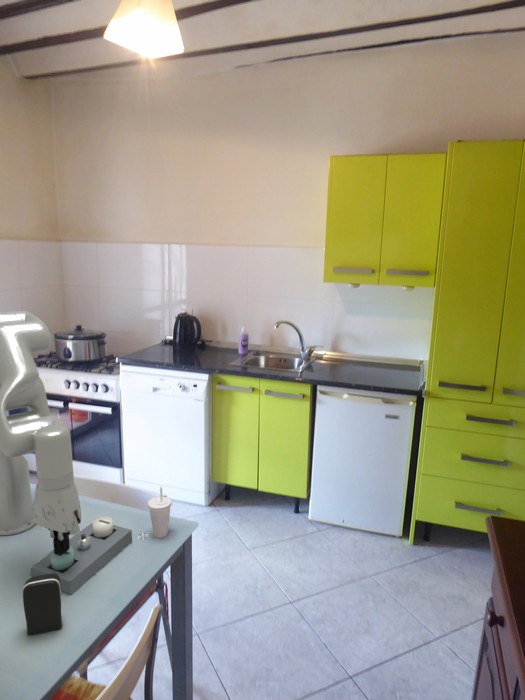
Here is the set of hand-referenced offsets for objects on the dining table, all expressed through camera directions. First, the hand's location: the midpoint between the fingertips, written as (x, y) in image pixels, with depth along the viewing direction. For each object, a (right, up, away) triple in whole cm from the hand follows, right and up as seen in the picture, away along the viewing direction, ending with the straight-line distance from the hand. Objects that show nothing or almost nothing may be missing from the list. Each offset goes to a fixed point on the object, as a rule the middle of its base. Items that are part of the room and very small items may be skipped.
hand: (62, 551), depth 112 cm
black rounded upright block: (+2, -10, -13) cm, 17 cm away
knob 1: (0, -5, +1) cm, 6 cm away
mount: (+2, -5, +8) cm, 10 cm away
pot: (+2, -2, +7) cm, 8 cm away
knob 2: (+5, -3, +14) cm, 15 cm away
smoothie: (+19, -4, +19) cm, 27 cm away
